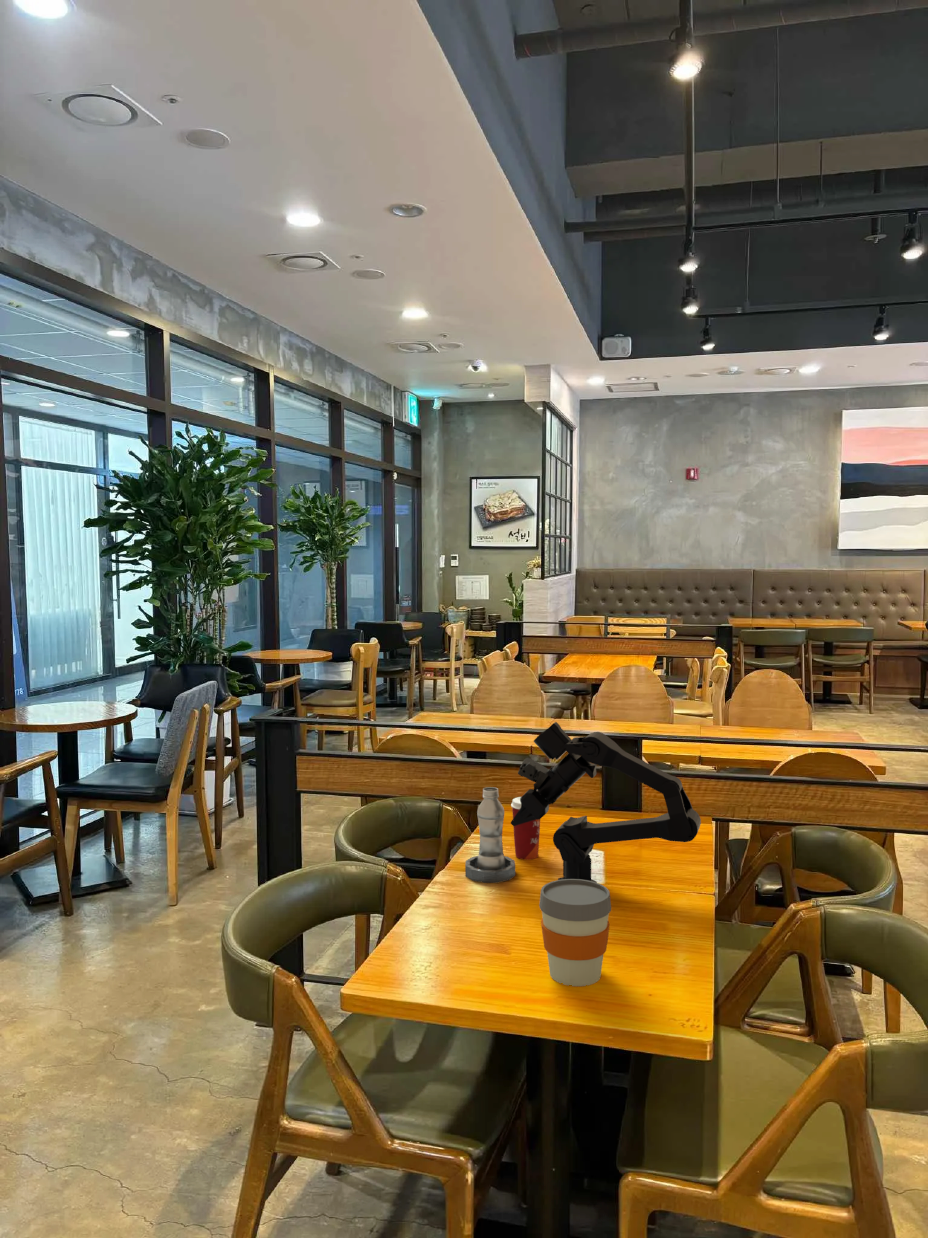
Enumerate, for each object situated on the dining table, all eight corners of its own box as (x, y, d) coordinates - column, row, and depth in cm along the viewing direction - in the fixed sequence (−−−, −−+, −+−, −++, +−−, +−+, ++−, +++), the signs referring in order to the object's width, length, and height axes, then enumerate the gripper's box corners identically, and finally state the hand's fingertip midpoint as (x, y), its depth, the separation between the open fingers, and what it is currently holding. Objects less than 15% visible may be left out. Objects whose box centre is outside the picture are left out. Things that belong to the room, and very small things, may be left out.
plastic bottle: (475, 878, 202) (474, 792, 201) (479, 868, 209) (478, 785, 208) (503, 879, 201) (502, 793, 200) (506, 869, 208) (506, 786, 207)
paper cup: (543, 861, 213) (543, 804, 212) (511, 861, 213) (511, 804, 212) (541, 850, 221) (541, 795, 220) (510, 850, 221) (510, 795, 220)
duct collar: (524, 876, 203) (524, 866, 203) (481, 886, 198) (481, 875, 197) (498, 861, 213) (498, 851, 213) (456, 870, 208) (456, 860, 207)
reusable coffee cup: (534, 959, 162) (534, 879, 161) (602, 956, 163) (602, 877, 161) (545, 993, 149) (545, 907, 148) (618, 990, 150) (618, 904, 149)
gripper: (548, 740, 208) (504, 782, 213) (529, 757, 191) (481, 803, 195) (581, 775, 206) (536, 817, 211) (565, 796, 189) (516, 841, 193)
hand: (517, 818), depth 202 cm, fingers open, 9 cm apart
